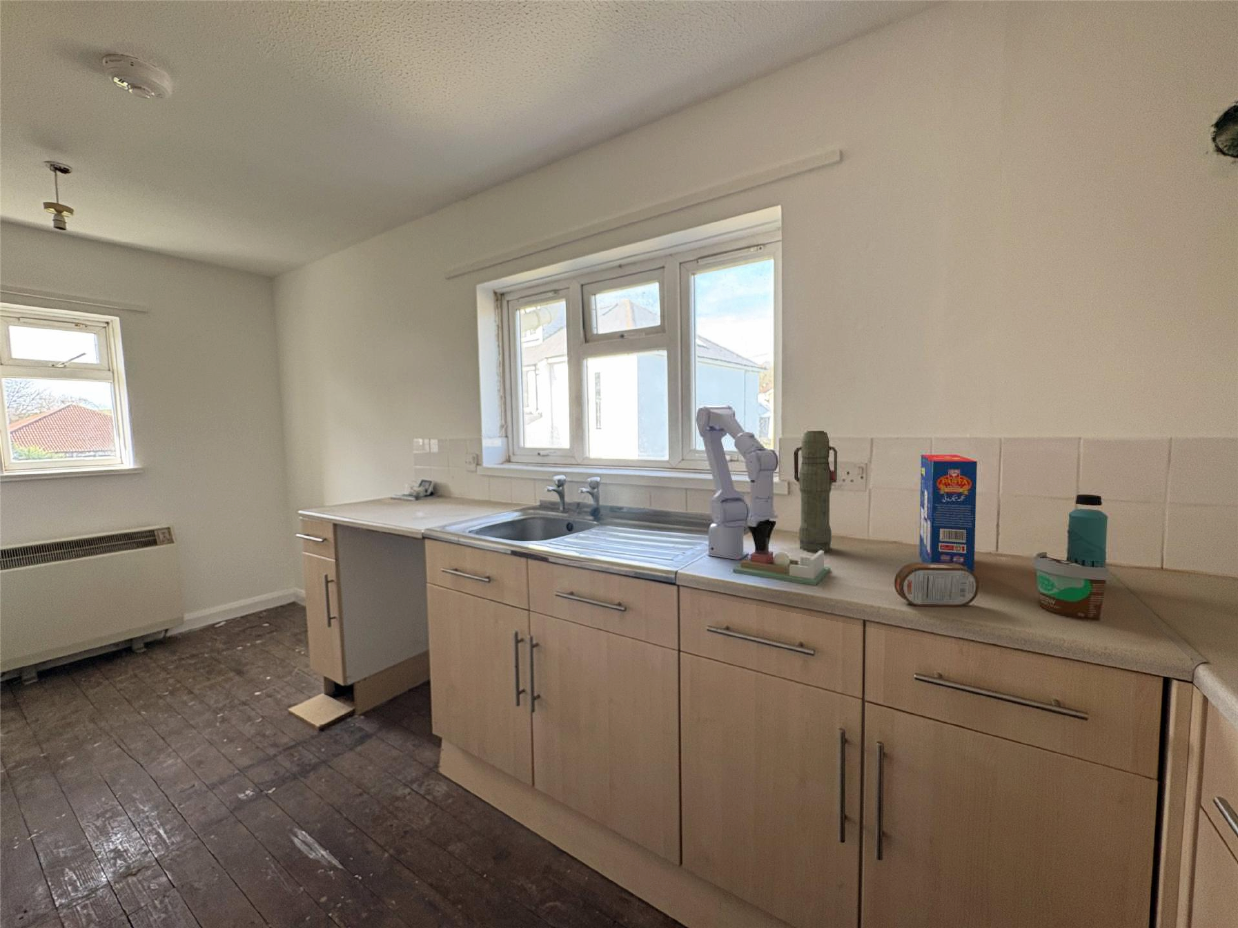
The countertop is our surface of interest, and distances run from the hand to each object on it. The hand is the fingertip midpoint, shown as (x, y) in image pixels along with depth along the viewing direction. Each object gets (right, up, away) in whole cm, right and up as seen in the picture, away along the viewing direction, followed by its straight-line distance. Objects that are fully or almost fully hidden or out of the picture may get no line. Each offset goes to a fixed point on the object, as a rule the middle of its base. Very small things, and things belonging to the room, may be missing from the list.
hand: (761, 549), depth 124 cm
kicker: (0, -5, 0) cm, 5 cm away
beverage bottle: (+67, -5, -17) cm, 69 cm away
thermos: (+21, -3, +19) cm, 29 cm away
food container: (+47, -6, -33) cm, 57 cm away
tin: (+27, -6, -28) cm, 39 cm away
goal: (+9, -5, -6) cm, 12 cm away
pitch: (+4, -5, -3) cm, 7 cm away
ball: (+4, -2, -3) cm, 5 cm away
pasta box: (+44, -4, -4) cm, 45 cm away
